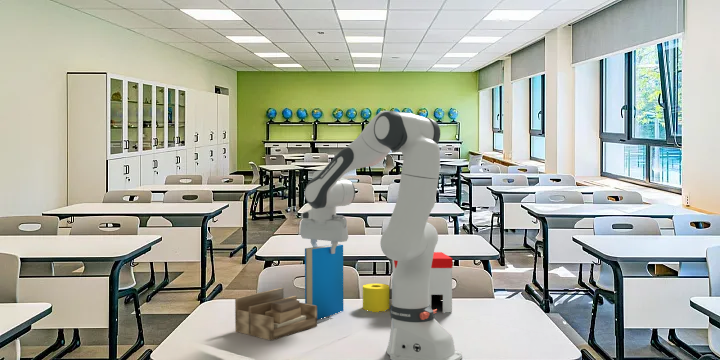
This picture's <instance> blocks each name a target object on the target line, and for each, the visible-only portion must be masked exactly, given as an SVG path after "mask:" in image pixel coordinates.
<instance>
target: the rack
mask: <svg viewBox="0 0 720 360" xmlns="http://www.w3.org/2000/svg"><path fill="white" fill-rule="evenodd" d="M284 293H285V292H284V287H279V288H274V289H271V290H265V291H260V292H256V293H252V294H247V295H243V296H238V297H235V299H234V305H235V306H234V307H235V308H234V311H235V312H234V313H235V314H234V316H235V319H234V320H235V322H234V323H235V326H234V327H235V332H237V333H241V334H244V335H248V336H252V337H257V338H260V339H264V340H269V341H274V340H278V339H281V338H283V337H286V336H290V335H294V334H297V333H300V332H303V331H306V330H307V331H308V330H310V329H313V328H315V327H318V324H317V306H316V305H311V304H305V302H300V301H299V307H300V308H301V315H305V316H306V320H303V321H300V322H296V323H293V324H289V325H286V326H282V327H279V328H276V329H274V317H269V316H265V312H267V311H270V310H271V303H272V302H276V301H281V300H285V299H293V300H297V299H298V297H297V295H292V296H288V297H285V295H284Z"/></svg>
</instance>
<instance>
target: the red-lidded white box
mask: <svg viewBox="0 0 720 360" xmlns="http://www.w3.org/2000/svg"><path fill="white" fill-rule="evenodd" d="M397 263H398V261H395V260H392V276H393V275H394V273H395V270H396V267H397ZM453 263H454V262H453V257H451V256H449V255H448V254H445V253H444V252H441V251H434V254H433V260H432V266H431V271H430V279H429V305H430V306H431V307H432V296H433V295H434V296H435V295H437V298H438V300H439V301H440V300H443V302H442V313H443V312H452V313H453V267H454V265H453Z"/></svg>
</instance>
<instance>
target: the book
mask: <svg viewBox="0 0 720 360" xmlns="http://www.w3.org/2000/svg"><path fill="white" fill-rule="evenodd" d="M331 246H332V244H328V245H327V244H325V245H321V246H318V247H313V246H312V247H306V248H304V303H305V304H311V305H316V306H317V319H321V318H324V317H331V316H334V315H336V314H335V313H337V314H339V313H338V312H340V311H342V312H344V245H343V244H341V243H340V244H339V243H338V244H337V246H336V248H335V254H329V249H331ZM340 313H341V312H340ZM333 314H334V315H333ZM330 315H331V316H330Z"/></svg>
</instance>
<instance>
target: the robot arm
mask: <svg viewBox="0 0 720 360" xmlns="http://www.w3.org/2000/svg"><path fill="white" fill-rule="evenodd" d="M440 139H441V128H440V125H439V123H438V122H437V121H436V120H434V119H432V118H430V117H428V116H422V115H418V114H414V113H410V112H403V111H402V112H401V111H395V110H382V111H379V112H378V113H377V114H376V115H375V116H373V118H372V119H371V120H370V121H369V122H368V123H367V125H366V126H365V127H364V128H363V130H362V131H361V133H359V135H358V136H357V138H355V139H354V140H353V141H352V142H351V143H350V144H349V145H347V146H346V147H345V148H343V149H342V150H340V151H339V152H338V153H337V154H336V155H335V156H334V157H333V158H332V159H331V160H330V161H329V162H328V164H327V165H326V166H325V167H324V169H318V170H317V169H316V170H315V171H314V172H313V174H312V178H311V179H310V180H309V182H308V183H307V184H306V186H305V188H304V194H303V195H304V199H305V201H306V203H307V204H308V205H309V206H310V207H311V209H309V210H306V211H303V212H301V213H300V217H301V222H300V229H299V230H300V232H299V233H300V236H301V238H302V239H306V240H310V243H311V246H312V247H319V246H318V243H317V242H318V241H325V242H326V241H327V242H330V245H332V246H331V249H329V254H335V248H336V246H337V244H339V243H343V242H347V241H348V240H349V231H348V230H349V229H348V224H347V222H348V221H347V219H346V217H345V215H338V214H337V207H345V206H350V205H351V204H352V203H353V202H354V200H355V197H356V187H355V185H354V184H353V182H352V181H351V180H349V179H346V178H344V177H343V176H344V175H345V174H347V173H349V172H351V171H354V170H358V169H362V168H363V169H364V168H368V167H372V166H375V165H378V164H379V163H381V162H382V161H383V160H384V159H385V158H386V157H387V156H388V155H389V154H390V152H391V151H392V152H397V151H400V152H401V153H402V157H403V161H402V167H401V173H400V182H399V187H398V192H397V193H398V194H397V198H396V202H395V204H394V205H395V206H394V208H393V211H392V214H391V217H390V218H389V219H390V220H389V222H388V225H387V227H386V229H385V230H384V232H383V233H382V236H381V237H380V243H379V244H380V248H381V251H382V253H383V254H384V255H385V256H386V257H387V259H389V260H392V261H393V260H395V261H398V263H397V267H396V270H395V273H394V275H393V274H392V279H391V304H390V309H389V310H390V322H391V323H390V324H391V325H390V326H391V327H390V333H389V340H388V345H387V348H386V354H387V355H389V359H390V360H462V358H463V352H462V351H459V350H456V349H455V341H454V338H453V335H452V334H451V333H450V332H449V331H448V330H447V329H446V328H445V327H444V326H442V325H441V323H440V322H439V321H437V319H435V315H434V314H436V313H438V312H437V311H438V309H437V308H436V309H432V305H431V306H430V305H429V279H430V271H431V266H432V260H433V254H434V252H435V249H436V246H437V244H438V241H439V233H438V230H437V229H436V227H435V226H434V225H433V224H432V223H430V222H428V220H429V217H430V215H431V212H432V210H433V208H434V207H435V204H436V199H437V198H436V197H437V190H438V184H439V177H440V170H441V149H440V146H439V145H438V144H439V142H440Z"/></svg>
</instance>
